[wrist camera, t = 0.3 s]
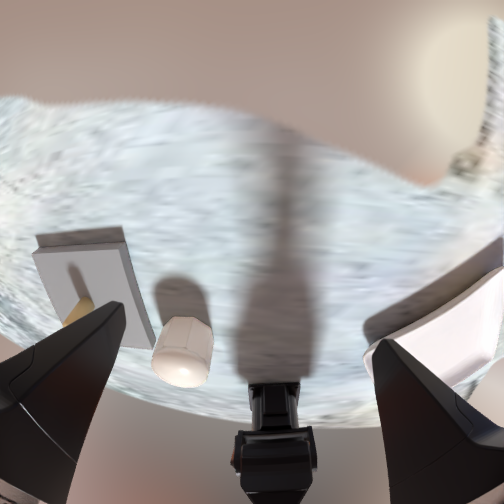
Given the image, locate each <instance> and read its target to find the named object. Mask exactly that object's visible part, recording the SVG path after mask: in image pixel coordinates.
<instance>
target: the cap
mask: <svg viewBox="0 0 504 504" xmlns="http://www.w3.org/2000/svg"><path fill="white" fill-rule="evenodd" d="M213 345H214V340H213V335H212V330H211V328H210V327H209V326H207V325H206V324H204V323H202V322H201V321H199V320H198V319H196V318H195V317H175V316H174V317H172V318H171V319H170V320H169V321H168V322H167V324H166V325H165V326H164V327H163V329H162V331H161V334H160V337H159V339H158V342H157V345H156V347H155V350H154V353H153V356H152V357H153V359H152V362H151V367H152V369H153V371H154V373H155V374H156V375H157V376H158V377H159V378H161V379H162V380H164V381H165V382H167V383H169V384H172V385H175V386H178V387H185V388H192V387H197V386H200V385H202V384H203V383H205V382H206V380H207V377H208V374H209V370H210V364H211V358H212V352H213Z"/></svg>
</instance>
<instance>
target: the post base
mask: <svg viewBox="0 0 504 504" xmlns="http://www.w3.org/2000/svg"><path fill="white" fill-rule="evenodd" d="M32 257H33V260H34V262H35V265H36V268H37V270H38V273H39V275H40V278H41V280H42V283H43V285H44V287H45V289H46V292H47V294H48V296H49V298H50V301H51V303H52V305H53V307H54V309H55V311H56V313H57V315H58V317H59V319H60V321H61V323H62V325H63V327H65V326H67V325H69V324H71V323H72V322H74V321H76V320H78V319H79V318H81V317H83V316H85V315H87V314H88V313H90V312H92V311H94V310H95V309H97V308H99V307H101V306H103V305H104V304H106V303H108V302H110V301H112V300H113V301H118V302H122V303H123V304H124V307H125V314H126V322H127V323H126V329H125V332H124V335H123V338H122V341H121V344H120V347H130V348H140V349H151V350H153V347H154V345H155V342H156V338H155V336H154V333H153V330H152V327H151V325H150V322H149V319H148V316H147V313H146V310H145V307H144V304H143V301H142V298H141V295H140V292H139V289H138V285H137V282H136V279H135V275H134V272H133V268H132V265H131V261H130V257H129V254H128V250H127V246H126V242H114V243H98V244H83V245H69V246H55V247H42V248H38V249H37V250H36V251H35V252H33V253H32Z"/></svg>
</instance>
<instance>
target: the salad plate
mask: <svg viewBox="0 0 504 504" xmlns="http://www.w3.org/2000/svg"><path fill="white" fill-rule="evenodd" d="M503 313H504V266H502V267H499V268H496V269H494V270H492V271H491V272H489V273H488V274H487V275H485V276H484V277H482V278H481V279H480V280H479V281H477V282H476V283H475V284H473V285H472V286H471V287H470V288H468V289H467V290H466V291H464V292H463V293H461V294H460V295H458V296H457V297H455V298H454V299H452V300H451V301H449V302H448V303H446V304H445V305H443V306H441V307H440V308H438V309H437V310H435V311H433V312H432V313H430V314H428V315H426V316H425V317H423V318H421V319H419V320H418V321H416V322H414V323H412V324H410V325H408V326H406V327H404V328H402V329H400V330H398V331H396V332H394V333H392V334H390V335H388V336H386V337H384V338H391V339H393V340H395V341H396V342H397V343H398V344H399V345H401V346H402V347H403V348H404V349H405V350H407V351H408V352H409V353H410V354H411V355H413V356H414V357H415V358H416V359H417V360H418V361H420V362H421V363H422V364H423V365H424V366H426V367H427V368H428V369H429V370H430V371H431V372H433V373H434V374H435V375H436V376H437V377H438V378H440V379H441V380H442V381H443V382H444V383H445V384H446V385H448V386H449V387H450V388H452V387H454V386H456V385H457V384H459V383H460V382H462V381H463V380H465V379H466V378H468V377H469V376H471V375H472V374H474V373H475V372H476V371H478V370H479V369H481V368H482V367H483V366H485V365H486V364H488V363H489V362H490V361H491V360H492V359H493V358H494V355H495V351H496V347H497V343H498V339H499V334H500V329H501V324H502V318H503ZM382 339H383V338H382ZM382 339H380V340H378V341H376V342H375V343H373V344H372V345H371V346H370V347H369V348H368V349H367V350H366V351H365V353H364V355H363V362H364V365H365V367H366V370H367V371H368V373H369V375H370V377H371V380H372V382H373V384H374V377H373V368H372V354H373V352H374V350H375V349H376V347H377V345H378V344H379V342H380V341H381V340H382Z"/></svg>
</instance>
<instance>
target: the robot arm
mask: <svg viewBox="0 0 504 504" xmlns="http://www.w3.org/2000/svg"><path fill="white" fill-rule="evenodd" d="M126 323H127V322H126V314H125V307H124V304H123V303H122V302H118V301H113V300H112V301H110V302H108V303H106V304H104V305H103V306H101V307H99V308H97V309H95V310H94V311H92V312H90V313H88V314H87V315H85V316H83V317H81V318H79V319H78V320H76V321H74V322H72V323H71V324H69V325H67V326H65V327H64V328H62V329H60V330H58V331H57V332H55V333H53V334H51V335H50V336H48V337H46V338H45V339H43V340H41V341H39V342H38V343H36V344H35V346H34V345H32V346H31V347H29V348H27V349H26V350H24V351H22V352H20V353H19V354H17V355H15V356H13V357H11V358H9V359H7V360H5V361H3V362H1V363H0V504H39V501H40V500H41V501H43V502H45V503H47V504H66V501H67V497H68V493H69V489H70V486H71V482H72V479H73V475H74V472H75V469H76V465H77V461H78V459H79V455H80V452H81V449H82V446H83V443H84V440H85V437H86V434H87V432H88V429H89V426H90V423H91V421H92V418H93V415H94V413H95V410H96V408H97V405H98V402H99V400H100V397H101V395H102V392H103V390H104V387H105V385H106V383H107V380H108V378H109V376H110V373H111V371H112V368H113V366H114V363H115V360H116V357H117V354H118V350H119V347H120V344H121V341H122V338H123V335H124V332H125V329H126ZM372 368H373V377H374V386H375V395H376V400H377V405H378V411H379V416H380V422H381V427H382V433H383V440H384V447H385V454H386V461H387V468H388V477H389V487H390V489H389V490H390V502H391V504H504V428H503V427H500V426H498V425H496V424H495V423H493V422H492V421H491V420H489V419H488V418H487V417H485V416H484V415H483V414H481V413H480V412H479V411H477V410H476V409H475V408H473V407H472V406H471V405H470V404H469V403H467V402H466V401H465V400H464V399H463V398H461V397H460V396H459V395H458V394H457V393H456V392H455V393H454V391H453V390H452V389H451V388H450V387H449V386H448V385H446V384H445V383H444V382H443V381H442V380H441V379H440V378H438V377H437V376H436V375H435V374H434V373H433V372H431V371H430V370H429V369H428V368H427V367H426V366H424V365H423V364H422V363H421V362H420V361H418V360H417V359H416V358H415V357H414V356H413V355H411V354H410V353H409V352H408V351H407V350H405V349H404V348H403V347H402V346H401V345H399V344H398V343H397V342H396V341H395V340H393V339H391V338H383V339H382V340H381V341H380V342H379V344H378V345H377V347H376V349H375V350H374V352H373V354H372ZM248 393H249V402H250V410H251V411H252V431H243V430H239V431H238V435H237V436H235V446H234V451H233V454H232V458H231V462H230V463H231V465H232V466H233V467H234V469H235V472H236V476H238V477H240V484H241V487H242V489H243V490H244V492H245V493H246V494H247V496H248V497H249V499H250V500H251V502H252V503H253V504H300V502H301V501H302V499H303V497H304V496H305V494H306V492H307V491H308V489H309V487H310V486H311V484H312V481H313V479H312V472H316V471H317V453H316V447H315V441H314V436H313V431H312V426H307V427H302V428H299V424H298V414H297V406H298V400H299V393H300V383H285V384H261V385H249V386H248Z"/></svg>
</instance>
